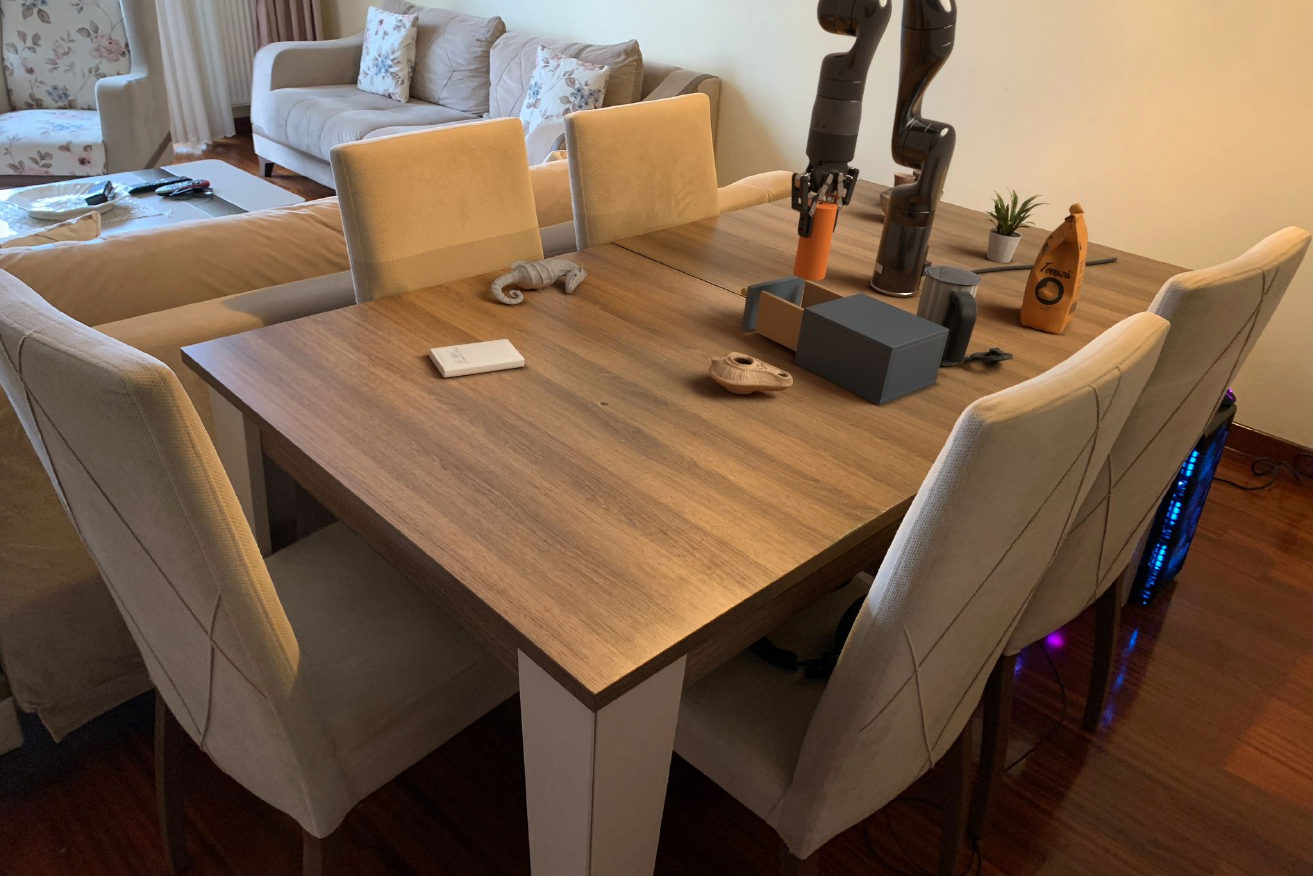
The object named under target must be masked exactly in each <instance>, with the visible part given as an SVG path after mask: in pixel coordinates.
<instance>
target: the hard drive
mask: <svg viewBox="0 0 1313 876" xmlns="http://www.w3.org/2000/svg"><path fill="white" fill-rule="evenodd" d="M428 356H429V359H430V360H431V361H432V363H433V364H434V365H435V367H436V369H437V370H438V372H439V373H440V374H441V375H442V377H443V378H444V379H445V378H453V377H460V376H467V375H474V374H475V375H476V374H481V373H488V372H495V371H502V370H509V369H516V368H523V367H525V357H524V356H523V355H522V354H521V353H520V352H519V351H518V349H516V347H515V346H514V345H513V344H512V342H511V341H510V340H509V339H508V338H501V339H494V340H488V341H487V340H486V341H480V342H472V343H464V344H457V345H448V346H441V347H433V348H429V349H428Z"/></svg>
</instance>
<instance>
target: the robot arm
mask: <svg viewBox="0 0 1313 876" xmlns="http://www.w3.org/2000/svg"><path fill="white" fill-rule="evenodd" d="M816 5H817V6H816V19H817V23H818V24H819V27H820V28H821V29H822V30H824V32H826V33H828V34H832V35H837V36H838V35H839V36H845V37H852V38H855V41H854V43H853V45H852V47H850V49H849V50H848V51H841V52H840V51H838V52H830V53H827V54H825V56H824V57H823V58H822V59H821V60H822V61H821V65H820V70H819V76H818V82H817V88H816V94H815V99H814V102H813V106H812V109H811V117H810V121H809V128H808V135H807V141H806V147H805V155H806V156H807V158H808V164H807V167H806V168H805V171H803V172H802V173H801V172H800V173H798V172H793V173H792V175H791V192H790V193H791V199H790V201H791V202H790V204H791V206H790V207H791V209H792V210H794V211H796V212H798V213H799V218H798V224H797V235H798V237H799V236H801V237H804V238H810V237H811V232H812V226H813V220H814V216H813V215H814V213H815V210H816V208H817V206H818V203H820V202H822V200H824V197H825V201H829V202H832V203H835V204H836V205H837V211H836V217H835V222H834V228H833V233H832V234H834V233H835V231H836V227H837V222H838V217H839V213H840V211H841V210H842V209H843V207H844V206H846V207H848V206H849V204H850V203H851V200H852V196H853V194H854V191H855V188H856V185H857V184H856V183H857V181H858V178H859V175H860V169H859V168H856V167H853V166H849V164H848V163H851V162H852V161H853V160H854V158H855V153H856V149H857V142H858V137H859V131H860V126H861V120H862V114H863V101H864V100H863V99H864V95H865V90H866V84H867V79H868V74H869V70H870V67H871V64H872V61H873V59H874V56H875V54H876V51H877V49H878V47H879V45H880V42H881V40H882V38H883V36H884V34H885V32H886V30H887V28H888V25H889V23H890V20H891V16H892V12H893V2H892V0H818V2H817V4H816ZM901 8H902V9H901V18H900V19H901V21H900V39H899V71H898V88H897V96H896V103H895V110H894V118H893V124H892V132H891V140H890V153H891V157H892V160H893V162H894V163H895V164H896V165H899V166H901V167H904V168H908V169H911V170H914V169H915V170H919V171H921V174H920V176H919V179H918V181H917V182H916V183H913V184H906V185H899V186H896V187H894V186H893V187H894V188H892V187H891V188H892V190H891V192H890V196H889V201H888V205H887V210H886V215H885V214H884V218H885V220H884V219H883V225H882V230H881V235H880V238H879V244H878V249H877V253H876V259H875V263H874V268H873V272H872V278H871V280H870V284H869V285H870V287H871V289H872V290H874V291H876V292H877V293H880V294H883V295H885V296H889V297H897V298H898V297H899V298H909V297H914V296H915V295H917V294H918V291H919V290H920V286H921V282H922V278H925V275H926V273H925V269H926V268H927V267H930V266H932V264H933V263H932V261H929V260H927V258H928V253H929V249H930V245H929V241H930V237H931V234H932V233H931V232H932V228H933V225H934V219H935V215H936V211H937V207H938V204H939V202H940V201H939V198H940V196H941V194H942V191H944V187H945V184H946V180H947V177H948V173H949V171H950V166H951V163H952V160H953V156H954V152H955V148H956V143H957V132H956V129H955V127H954V125H952V124H950V123H947V122H943V121H939V120H934V119H930V118H925V117H923V115H922V109H923V108H922V107H923V102H924V98H925V97H924V96H925V95H926V94H925V93H926V91H927V89H928V88H929V86H930V84H931V83H932V82H933V81H934V79H935V78H936V76H937V75H938V74H939V72H940V71H941V70H942V68H944V66H945V64H946V63H947V62H948V60H949V58H950V57H951V55H952V53H953V50H954V47H955V42H956V41H955V40H956V30H957V20H958V6H957V2H956V0H902V7H901ZM844 191H845V192H844ZM811 192H812V193H814V194H812V193H811ZM809 200H812V202H811V204H810V207H808V202H809ZM938 201H939V202H938ZM1116 261H1118V258H1117V257H1112V258H1106V259H1105V258H1104V259H1099V260H1089V261H1086V265H1085V266H1090V265H1099V264H1106V263H1111V262H1116ZM1033 265H1034V264H1023V265H1006V266H997V267H996V266H995V267H987V268H986V267H985V268H979V269H974V270H970V271H971V272H973V273H975V274H981V273H988V272H999V271H1011V270H1025V269H1032V267H1033Z"/></svg>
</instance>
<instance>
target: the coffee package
mask: <svg viewBox="0 0 1313 876" xmlns="http://www.w3.org/2000/svg"><path fill="white" fill-rule="evenodd" d="M1068 212H1069V215H1068V216H1065V217H1064V219H1063V220H1064V221H1063V222H1062V223H1061V224H1059V226H1058V227H1056V228H1055V229H1054V230H1053V231H1052V232H1051V233H1050V234H1049V235H1048V236H1046V239H1045V241H1044V242H1043V244H1042V245H1041V248H1040V250H1039V251H1038V254H1037V256H1036V259H1035V260H1034V263H1033V264H1032V265H1033V267H1032V268H1030V271H1029V274H1028V278H1027V281H1026V285H1025V289H1024V294H1023V298H1022V304H1021V309H1020V316H1019V318H1020V323H1021V325H1022V326H1024V327H1030V328H1032V329H1034V330H1038V331H1044V332H1047V333H1050V334H1051V333H1052V334H1056V335H1060V334H1062V333H1063V332H1064V330H1065V329H1066V328H1067V326H1069V324H1070V323H1071V322H1072V320H1073V317H1074V314H1075V312H1076V308H1077V304H1078V301H1079V298H1080V294H1081V290H1082V285H1083V282H1084V275H1085V270H1086V266H1087V265H1086V262H1087V252H1088V243H1089V232H1088V227H1087V225H1086V222H1085V218H1084V214H1085V212H1084V209H1083V207H1082V206H1081V204H1080V203H1073V204H1071V205H1070V207H1069V208H1068Z"/></svg>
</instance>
